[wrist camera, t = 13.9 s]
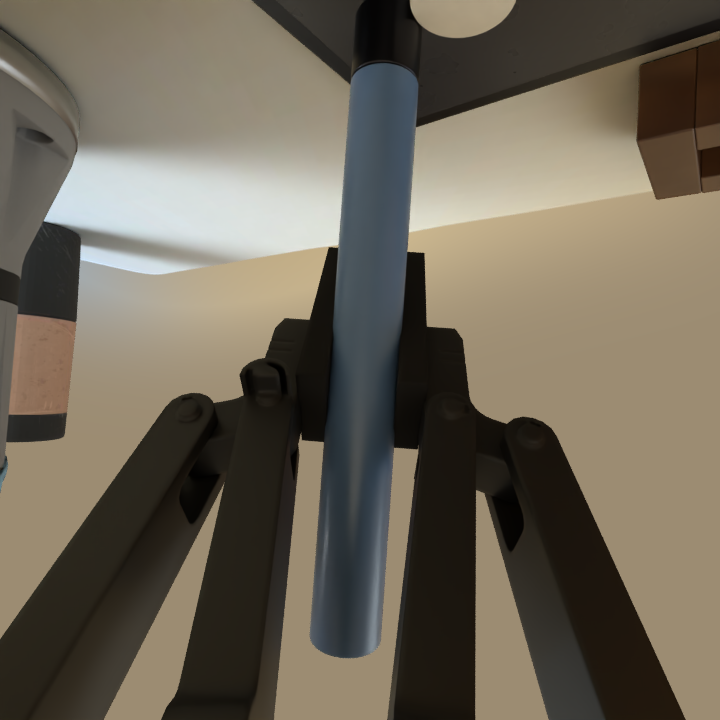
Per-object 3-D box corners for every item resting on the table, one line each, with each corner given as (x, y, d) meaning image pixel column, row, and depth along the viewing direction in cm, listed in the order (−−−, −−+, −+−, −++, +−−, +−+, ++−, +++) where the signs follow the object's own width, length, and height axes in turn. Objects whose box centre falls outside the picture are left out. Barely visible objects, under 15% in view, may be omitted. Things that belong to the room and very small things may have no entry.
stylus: (381, 51, 15) (340, 613, 15) (341, 10, 14) (294, 638, 13) (435, 26, 14) (394, 638, 14) (399, -21, 13) (350, 669, 12)
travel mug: (85, 246, 51) (68, 432, 50) (-2, 231, 48) (-23, 431, 47) (82, 228, 44) (62, 442, 44) (-20, 209, 41) (-45, 442, 40)
